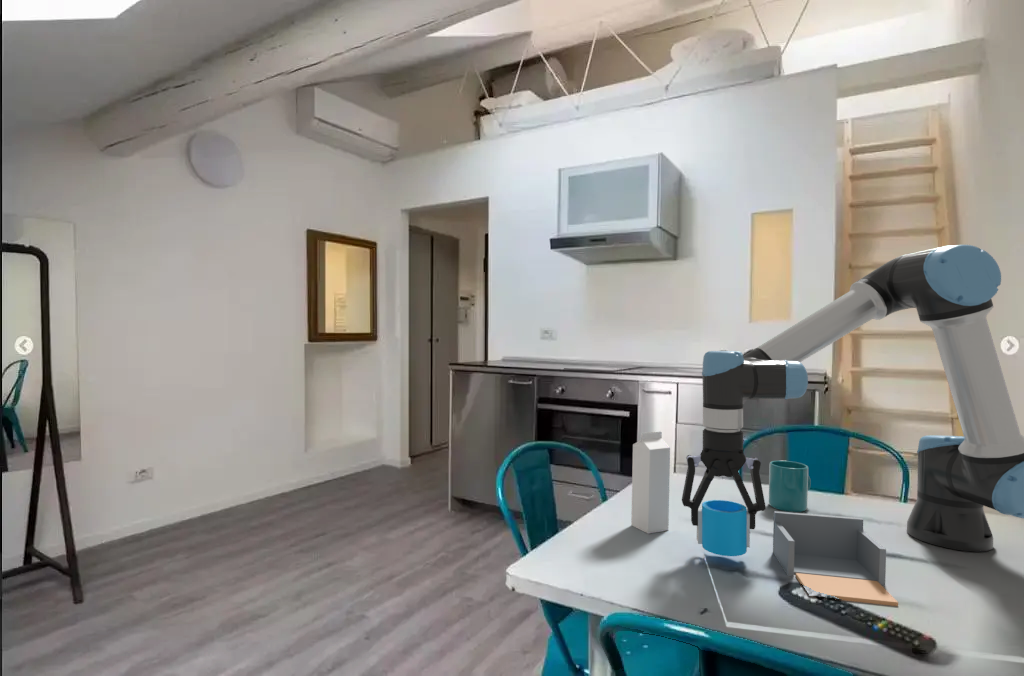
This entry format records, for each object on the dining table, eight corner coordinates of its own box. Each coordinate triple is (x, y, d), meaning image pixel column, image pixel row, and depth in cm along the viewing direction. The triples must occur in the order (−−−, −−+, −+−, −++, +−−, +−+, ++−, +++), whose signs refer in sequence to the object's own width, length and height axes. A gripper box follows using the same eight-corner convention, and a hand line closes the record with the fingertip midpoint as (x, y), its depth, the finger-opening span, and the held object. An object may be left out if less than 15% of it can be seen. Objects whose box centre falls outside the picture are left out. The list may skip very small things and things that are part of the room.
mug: (755, 554, 105) (755, 511, 105) (716, 557, 104) (716, 514, 104) (720, 531, 117) (720, 493, 117) (684, 534, 115) (684, 495, 115)
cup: (823, 509, 143) (825, 466, 143) (788, 514, 139) (789, 469, 139) (794, 499, 152) (795, 458, 151) (760, 503, 147) (761, 461, 147)
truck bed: (860, 563, 109) (861, 518, 109) (885, 588, 99) (886, 538, 99) (772, 555, 113) (773, 511, 113) (787, 578, 102) (788, 529, 102)
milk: (631, 525, 129) (632, 430, 129) (651, 522, 132) (652, 429, 131) (648, 534, 123) (649, 435, 123) (669, 530, 126) (670, 433, 126)
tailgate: (877, 581, 99) (898, 602, 91) (876, 587, 99) (898, 609, 91) (795, 572, 102) (809, 592, 94) (795, 579, 102) (809, 599, 94)
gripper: (774, 427, 111) (774, 540, 112) (666, 424, 116) (666, 532, 116) (784, 434, 104) (784, 554, 104) (669, 430, 108) (669, 546, 109)
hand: (722, 542), depth 110 cm, fingers closed on mug, 8 cm apart
